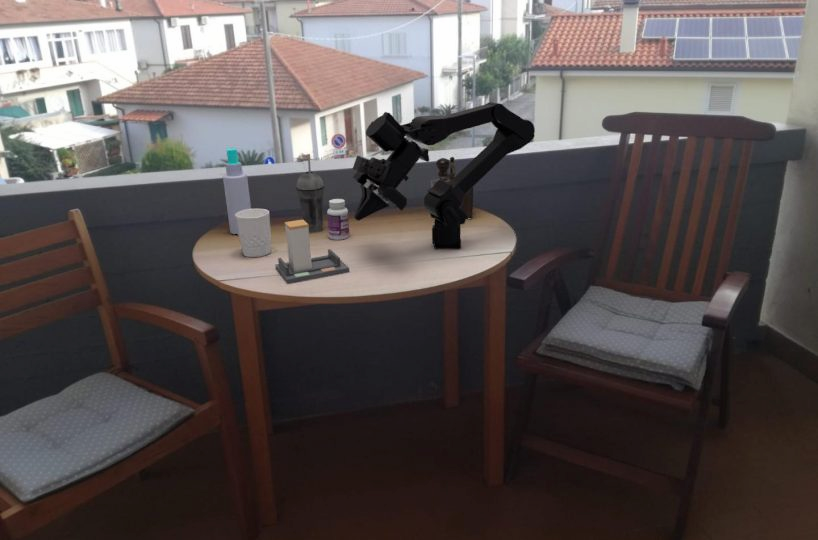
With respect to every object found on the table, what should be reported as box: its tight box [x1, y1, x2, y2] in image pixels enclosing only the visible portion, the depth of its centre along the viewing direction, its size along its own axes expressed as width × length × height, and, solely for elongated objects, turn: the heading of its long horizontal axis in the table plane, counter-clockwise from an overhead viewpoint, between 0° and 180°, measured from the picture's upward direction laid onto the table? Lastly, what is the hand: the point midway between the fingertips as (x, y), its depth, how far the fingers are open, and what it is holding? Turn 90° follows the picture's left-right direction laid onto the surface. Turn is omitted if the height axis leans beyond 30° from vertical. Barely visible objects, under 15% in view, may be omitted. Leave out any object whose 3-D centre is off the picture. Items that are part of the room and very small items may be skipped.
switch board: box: [274, 249, 350, 285], centre depth 140 cm, size 14×10×3 cm
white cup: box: [235, 208, 272, 258], centre depth 151 cm, size 8×8×10 cm
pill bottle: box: [326, 198, 350, 241], centre depth 160 cm, size 5×5×10 cm
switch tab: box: [284, 219, 312, 272], centre depth 137 cm, size 4×4×10 cm
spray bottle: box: [222, 148, 252, 236], centre depth 164 cm, size 6×6×22 cm
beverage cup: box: [295, 153, 325, 233], centre depth 165 cm, size 7×7×20 cm
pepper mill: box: [430, 156, 474, 220], centre depth 172 cm, size 16×11×18 cm
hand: (356, 219), depth 141 cm, fingers closed
